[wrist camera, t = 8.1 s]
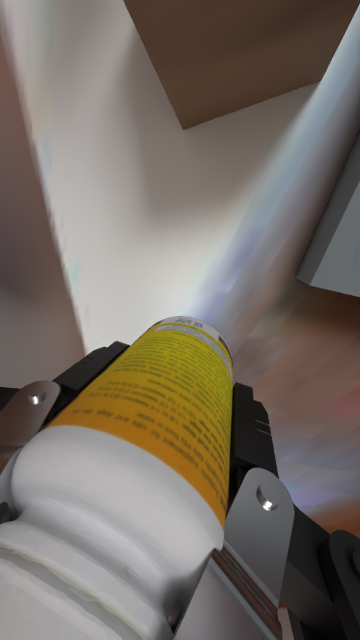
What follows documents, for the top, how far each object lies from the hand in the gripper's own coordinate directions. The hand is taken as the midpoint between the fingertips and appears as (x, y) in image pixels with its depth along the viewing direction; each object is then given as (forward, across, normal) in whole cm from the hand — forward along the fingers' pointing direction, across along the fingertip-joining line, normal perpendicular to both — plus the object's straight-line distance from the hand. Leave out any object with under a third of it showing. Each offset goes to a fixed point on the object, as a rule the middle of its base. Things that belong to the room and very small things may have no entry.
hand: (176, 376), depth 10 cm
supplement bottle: (+2, 0, 0) cm, 2 cm away
